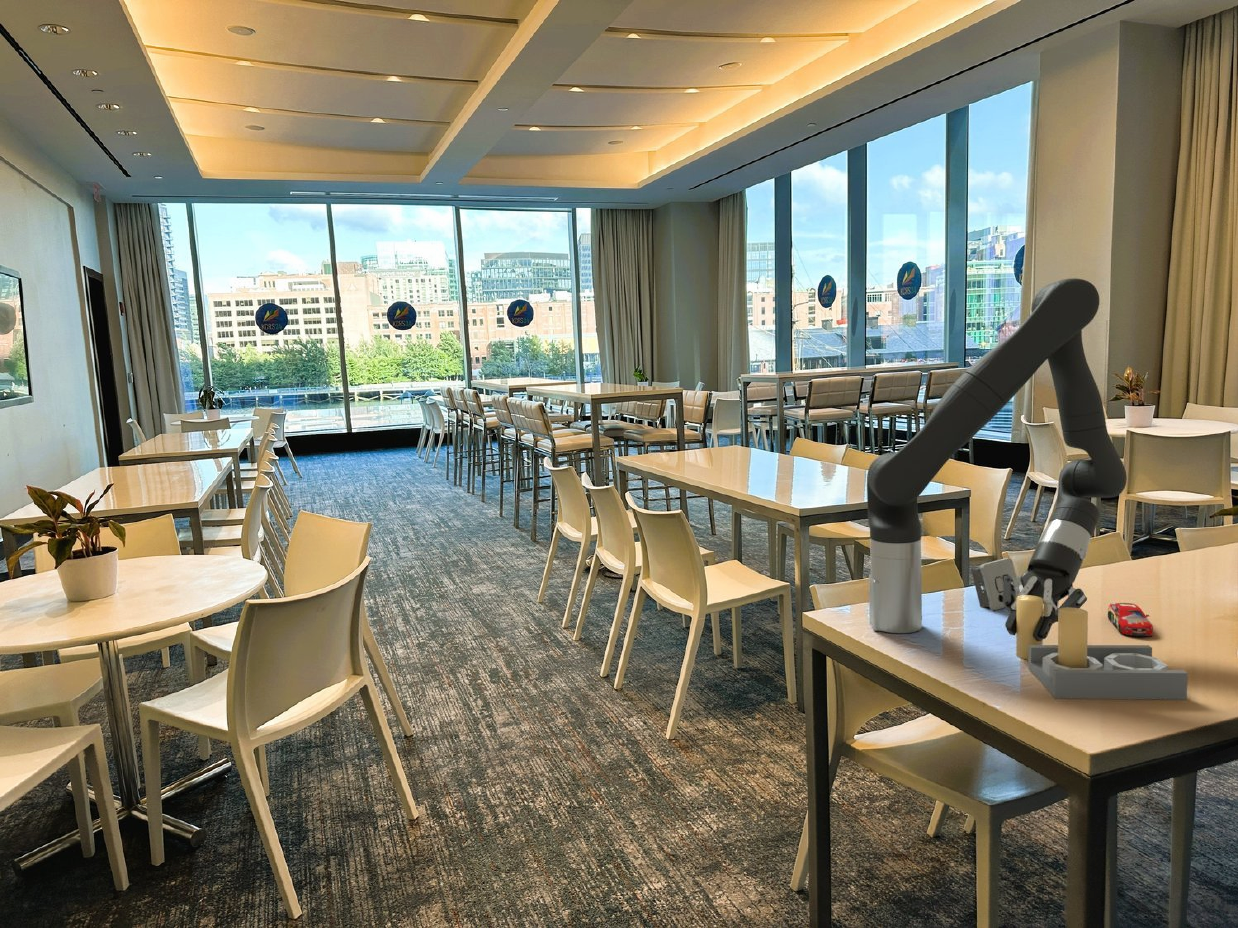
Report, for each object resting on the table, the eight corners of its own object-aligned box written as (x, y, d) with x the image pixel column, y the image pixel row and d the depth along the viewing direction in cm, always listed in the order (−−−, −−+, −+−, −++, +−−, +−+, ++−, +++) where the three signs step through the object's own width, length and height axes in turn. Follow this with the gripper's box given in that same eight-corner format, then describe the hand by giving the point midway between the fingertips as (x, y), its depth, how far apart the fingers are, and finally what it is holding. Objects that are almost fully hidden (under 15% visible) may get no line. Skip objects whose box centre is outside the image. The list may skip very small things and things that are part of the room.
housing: (1055, 698, 125) (1055, 623, 124) (1028, 668, 137) (1029, 600, 135) (1186, 699, 122) (1189, 623, 121) (1147, 669, 134) (1149, 599, 133)
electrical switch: (994, 611, 167) (990, 565, 166) (971, 608, 171) (967, 563, 171) (1023, 603, 171) (1019, 558, 171) (1000, 600, 176) (996, 556, 176)
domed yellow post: (1020, 659, 141) (1021, 602, 139) (1013, 651, 145) (1013, 595, 143) (1046, 659, 140) (1046, 601, 139) (1037, 651, 144) (1038, 595, 143)
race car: (1156, 641, 147) (1156, 619, 147) (1121, 639, 149) (1121, 617, 148) (1137, 617, 159) (1138, 597, 159) (1105, 616, 161) (1105, 596, 161)
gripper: (1012, 534, 150) (975, 614, 144) (1095, 545, 139) (1058, 633, 133) (1027, 558, 154) (991, 637, 148) (1109, 571, 142) (1074, 657, 137)
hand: (1023, 635), depth 141 cm, fingers closed on domed yellow post, 4 cm apart
